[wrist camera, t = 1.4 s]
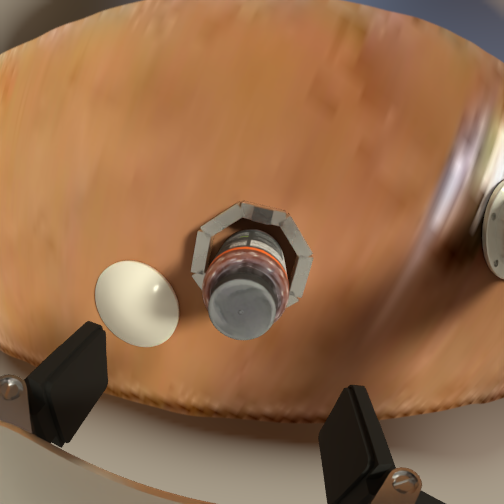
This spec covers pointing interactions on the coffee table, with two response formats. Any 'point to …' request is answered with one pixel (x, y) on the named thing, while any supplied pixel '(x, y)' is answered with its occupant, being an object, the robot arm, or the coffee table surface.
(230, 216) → the ring holder
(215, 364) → the coffee table surface
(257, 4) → the coffee table surface
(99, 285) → the coaster
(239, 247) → the supplement bottle
